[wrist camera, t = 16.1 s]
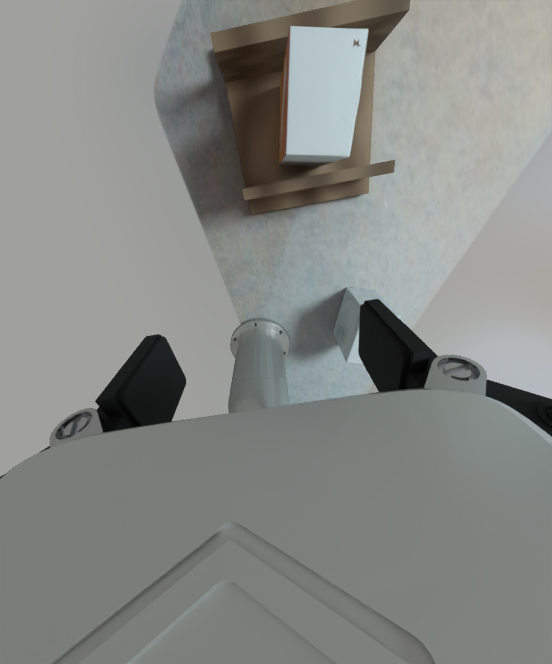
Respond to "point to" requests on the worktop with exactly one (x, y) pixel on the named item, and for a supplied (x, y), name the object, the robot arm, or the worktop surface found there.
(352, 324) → the skincare box
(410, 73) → the worktop surface
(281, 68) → the book rack
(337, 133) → the small box
